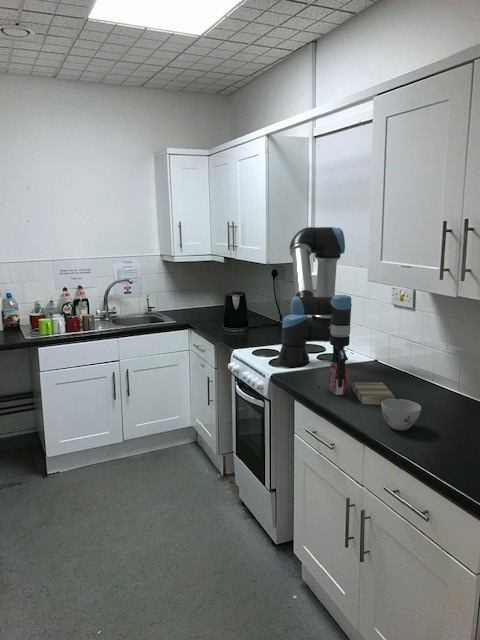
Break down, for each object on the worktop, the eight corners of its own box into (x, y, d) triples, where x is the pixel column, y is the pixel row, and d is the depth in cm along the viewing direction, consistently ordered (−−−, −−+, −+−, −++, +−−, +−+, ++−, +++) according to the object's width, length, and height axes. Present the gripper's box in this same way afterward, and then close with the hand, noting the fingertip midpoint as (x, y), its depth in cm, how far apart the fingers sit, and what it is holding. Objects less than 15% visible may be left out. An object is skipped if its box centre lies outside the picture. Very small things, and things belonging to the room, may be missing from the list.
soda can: (346, 396, 195) (347, 366, 193) (327, 394, 197) (329, 365, 195) (346, 390, 202) (347, 361, 200) (328, 389, 204) (329, 360, 201)
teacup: (427, 432, 161) (429, 409, 160) (393, 436, 158) (394, 412, 157) (401, 415, 176) (403, 394, 174) (369, 418, 173) (370, 396, 171)
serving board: (352, 389, 203) (352, 382, 203) (382, 389, 203) (382, 382, 203) (362, 404, 187) (362, 396, 186) (394, 404, 187) (395, 396, 186)
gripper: (326, 329, 205) (323, 383, 209) (334, 340, 185) (332, 399, 190) (344, 329, 205) (341, 383, 209) (355, 340, 185) (352, 399, 190)
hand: (337, 391), depth 199 cm, fingers closed on soda can, 7 cm apart
